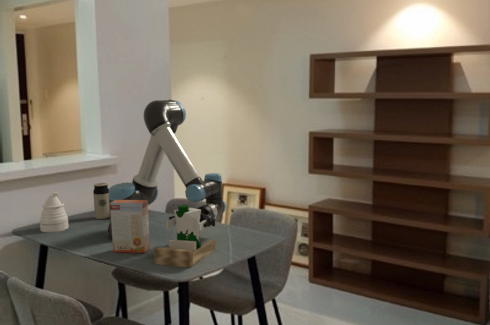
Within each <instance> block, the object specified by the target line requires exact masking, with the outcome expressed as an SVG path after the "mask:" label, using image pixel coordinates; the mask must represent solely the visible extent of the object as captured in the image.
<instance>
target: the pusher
mask: <svg viewBox="0 0 490 325" xmlns="http://www.w3.org/2000/svg"><path fill="white" fill-rule="evenodd" d="M168 245H169V248H172V249H184V250H192V253H193V252H194V251H196V241H185V240H177V239H169V240H168Z"/></svg>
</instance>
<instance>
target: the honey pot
mask: <svg viewBox="0 0 490 325" xmlns="http://www.w3.org/2000/svg"><path fill="white" fill-rule="evenodd" d="M59 192H60V191H54V192H52V194H50V195H49V196H48V197H47V198H46V201H45V203H44V204H43V205H42V211H41V215H40V218H39V227H40V232H43V233H54V232H55V233H56V232H61V231H65V230H67V229H69V216H68V215H67V212H66V210H65V208H64V206H65V203H64V202H61V201H60V199H59V198H58V195H59Z"/></svg>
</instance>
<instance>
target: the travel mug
mask: <svg viewBox="0 0 490 325" xmlns="http://www.w3.org/2000/svg"><path fill="white" fill-rule="evenodd" d="M108 185H109V183H108V182H97V183H93V188H94V189H93V190H92V192H93V194H92V195H93V207H94V218H95V219H98V220H106V219H110V208H109V198H108V195H109V189H110V188H109V187H108Z"/></svg>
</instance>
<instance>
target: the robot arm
mask: <svg viewBox="0 0 490 325" xmlns="http://www.w3.org/2000/svg"><path fill="white" fill-rule="evenodd" d="M186 114H187V112H186V109H185V107H184V105H183V104H182V103H181V102H180V101H178V100H175V99H174V100H173V99H165V100H152V101H151V102H149V103H148V104H147V105H146V106H145V108H144V110H143V120H144V125H145V127H146V129H147V130H148V132H149V134H150V137H149V141H148V144H147V146H146V150H145V152H144V156H143V158H142V161H141V164H140V168H139V169H138V170H139V171H138V173H137V174H135V175H134V176H133V178H132V181H131V182H120V183H116V184H113V185H112V186H110V187H109V188H108V189H109V195H108V198H109V208H110V203H111V202H113V201H115V200H147V203H148V206H150V205H151V204H153V203H154V202H156V200H157V198H158V197H159V189H158V181H157V177H158V174H159V171H160V168H161V166H162V162H163V160H164V156H165V155H166V157H167V159H168V161H169V163H170V164H171V166H172V167H173V169H174V170H175V172H176V174H177V176H178V177H179V179H180V180H181V182H182V184H183V185H184V187H185V191H184V193H185V194H184V195H185V198H186V199H187V200H188V202H191V203H198V202H203V201H205V203H204V204H203V205H200V206H198V207H196V209H200V210H201V214H200V223H199V224H198V231H200V232H201V231H202V230H204V229H205V228H208V227H211V226H212V227H216V218H219V217H220V216H222V215H223V214H224V213H225V212H226V210H227V204H226V201H225V200H224V199H223V180H222V179H223V178H222V174H221V173H215V172H211V173H205V175H204V179H202V177H201V176H200V174H199V172H198V171H197V170H196V167H195V166H194V164H193V163H192V160H191V159H190V158H189V156H188V155H187V152H186V151H185V150H184V148H183V146H182V145H181V143H180V141H179V140H178V138H177V137H176V133H177V130H178V128H179V126H180V125H182V124H183V123H184V122H185V120H186V116H187V115H186ZM165 223H166V224H165V226H166V229H167V230H168V229H171V228H172V227H175V226H176V218H175V215H172V216H169V217H168V220H167V221H166V222H165ZM106 237H107V238H108V239H110V240H112V224H111V208H110V217H109V224H108V226H107V231H106Z"/></svg>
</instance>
